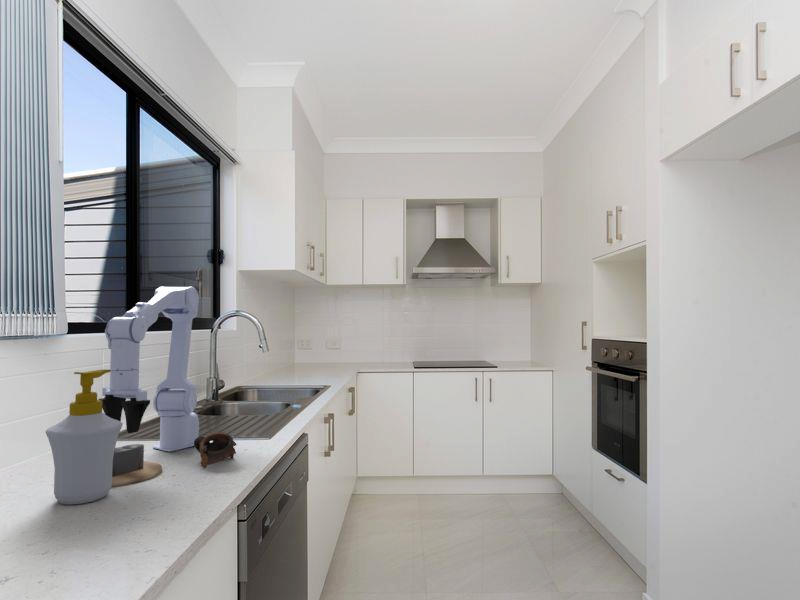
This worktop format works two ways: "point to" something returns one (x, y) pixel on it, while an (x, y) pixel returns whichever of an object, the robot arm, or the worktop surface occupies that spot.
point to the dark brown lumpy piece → (215, 448)
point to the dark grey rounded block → (128, 459)
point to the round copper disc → (138, 474)
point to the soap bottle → (84, 447)
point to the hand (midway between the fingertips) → (123, 430)
